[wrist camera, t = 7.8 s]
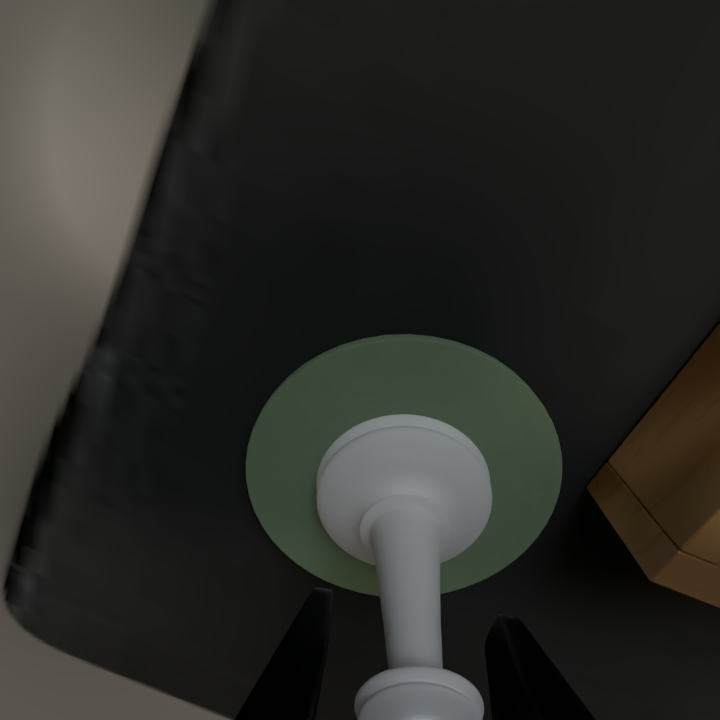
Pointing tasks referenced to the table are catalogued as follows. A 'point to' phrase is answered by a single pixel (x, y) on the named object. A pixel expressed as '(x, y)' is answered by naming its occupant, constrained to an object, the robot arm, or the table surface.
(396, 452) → the chess piece
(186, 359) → the table surface
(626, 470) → the wooden frame
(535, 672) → the robot arm
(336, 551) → the felt coaster
